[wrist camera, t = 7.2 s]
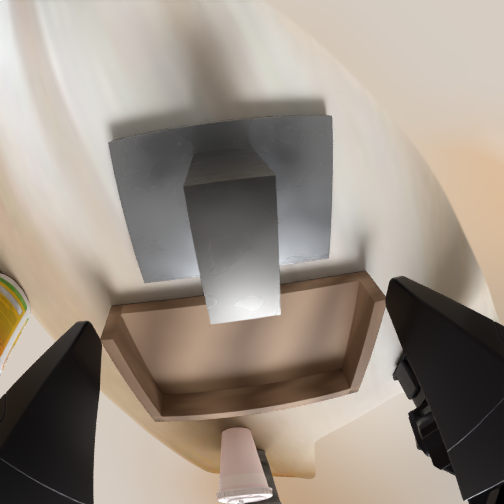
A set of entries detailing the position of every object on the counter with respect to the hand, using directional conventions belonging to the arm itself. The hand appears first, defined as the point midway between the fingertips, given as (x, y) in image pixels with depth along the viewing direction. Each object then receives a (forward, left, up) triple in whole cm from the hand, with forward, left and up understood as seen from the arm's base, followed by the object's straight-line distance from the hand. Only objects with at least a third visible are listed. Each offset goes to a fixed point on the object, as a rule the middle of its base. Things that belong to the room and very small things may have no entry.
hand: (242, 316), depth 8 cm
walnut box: (0, +12, -10) cm, 16 cm away
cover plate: (0, 0, -10) cm, 10 cm away
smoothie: (+3, +30, -10) cm, 32 cm away
